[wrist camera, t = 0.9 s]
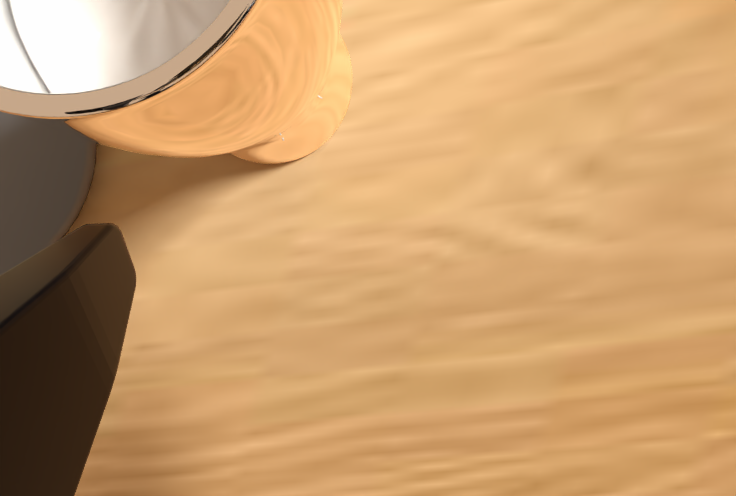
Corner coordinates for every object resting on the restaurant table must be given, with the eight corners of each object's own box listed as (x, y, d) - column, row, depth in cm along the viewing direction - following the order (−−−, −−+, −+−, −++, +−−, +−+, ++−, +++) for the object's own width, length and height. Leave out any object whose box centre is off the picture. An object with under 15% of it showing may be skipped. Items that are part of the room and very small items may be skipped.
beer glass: (151, 134, 24) (-275, 19, 9) (217, -45, 23) (-118, -507, 8) (323, 204, 23) (198, 211, 8) (394, 26, 23) (393, -304, 8)
